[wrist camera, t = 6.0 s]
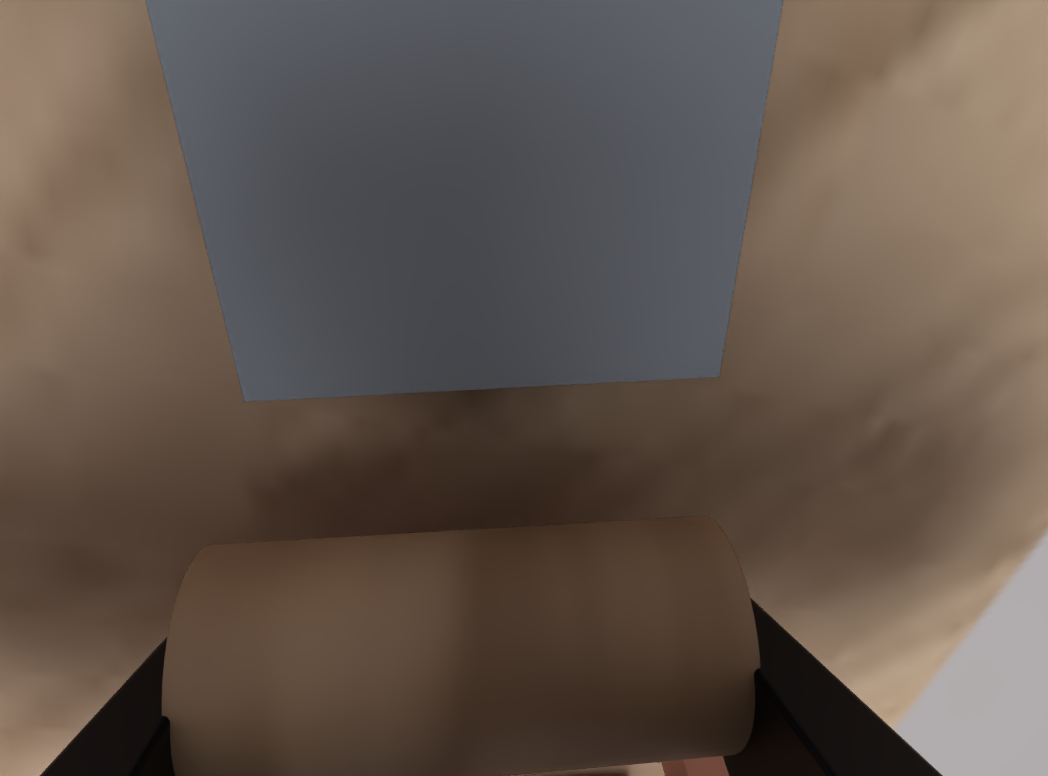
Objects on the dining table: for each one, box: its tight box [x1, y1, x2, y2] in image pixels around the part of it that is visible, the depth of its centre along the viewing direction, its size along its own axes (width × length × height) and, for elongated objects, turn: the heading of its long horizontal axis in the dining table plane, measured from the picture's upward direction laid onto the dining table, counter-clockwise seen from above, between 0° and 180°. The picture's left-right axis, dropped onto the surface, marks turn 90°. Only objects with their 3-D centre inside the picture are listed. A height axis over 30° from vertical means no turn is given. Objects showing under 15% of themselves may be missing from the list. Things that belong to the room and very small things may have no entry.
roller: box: [162, 516, 760, 776], centre depth 9 cm, size 3×6×3 cm, turn 89°
